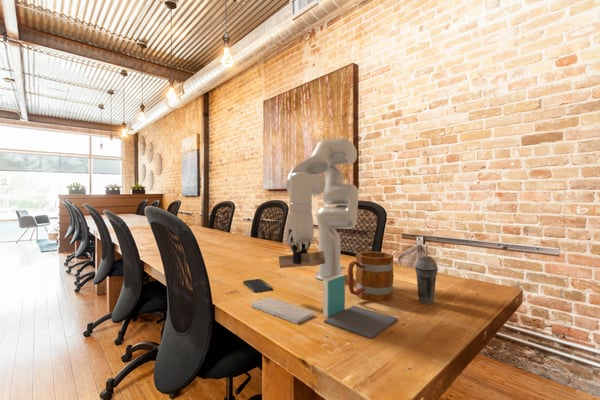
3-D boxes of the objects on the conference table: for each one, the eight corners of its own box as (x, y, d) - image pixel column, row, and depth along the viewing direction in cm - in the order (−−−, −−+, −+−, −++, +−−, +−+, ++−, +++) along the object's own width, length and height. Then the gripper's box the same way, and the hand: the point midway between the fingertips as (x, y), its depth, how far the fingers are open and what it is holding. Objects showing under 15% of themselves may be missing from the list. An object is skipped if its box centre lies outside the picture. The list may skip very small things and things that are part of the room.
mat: (353, 307, 98) (353, 305, 98) (397, 319, 88) (397, 317, 88) (323, 322, 86) (323, 320, 86) (371, 338, 76) (371, 336, 76)
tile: (339, 307, 97) (339, 274, 97) (344, 309, 96) (345, 275, 96) (322, 316, 90) (323, 279, 90) (328, 317, 89) (328, 281, 89)
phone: (260, 278, 129) (273, 287, 116) (260, 281, 129) (273, 290, 116) (242, 281, 125) (254, 290, 112) (242, 283, 125) (254, 293, 112)
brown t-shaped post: (288, 265, 110) (287, 254, 110) (325, 263, 99) (323, 251, 99) (276, 268, 105) (274, 257, 105) (313, 266, 94) (311, 253, 94)
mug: (372, 287, 118) (372, 250, 118) (401, 297, 107) (401, 255, 107) (335, 297, 107) (335, 255, 107) (364, 309, 96) (364, 262, 96)
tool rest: (269, 300, 104) (269, 296, 104) (314, 315, 90) (314, 311, 90) (251, 306, 98) (251, 303, 98) (296, 324, 84) (296, 319, 84)
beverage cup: (436, 299, 105) (437, 242, 105) (438, 306, 98) (439, 246, 98) (414, 297, 107) (414, 241, 107) (415, 304, 100) (415, 244, 100)
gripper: (307, 208, 110) (307, 258, 110) (275, 209, 98) (275, 265, 98) (323, 208, 105) (323, 261, 105) (292, 209, 93) (292, 268, 93)
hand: (300, 262), depth 102 cm, fingers closed on brown t-shaped post, 2 cm apart
